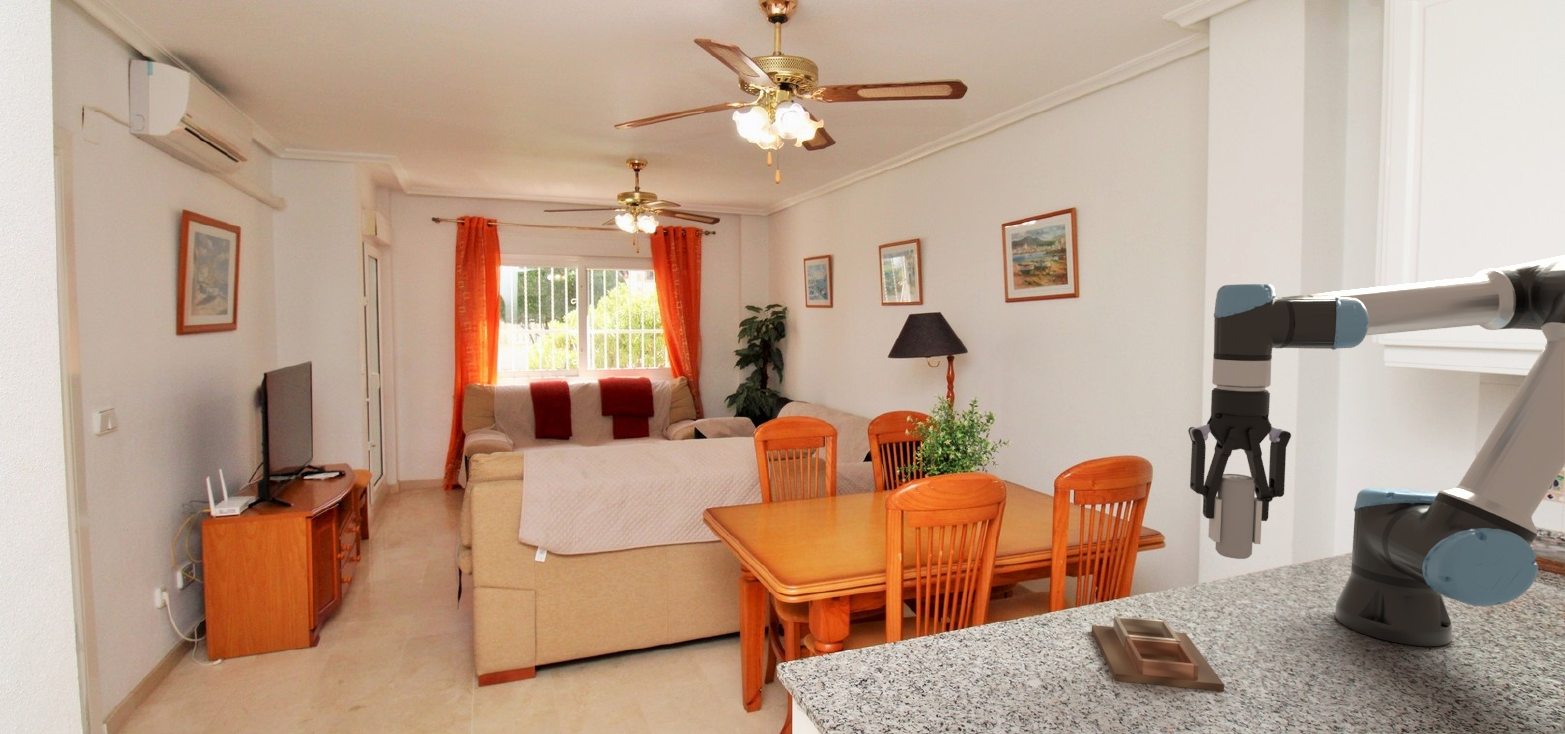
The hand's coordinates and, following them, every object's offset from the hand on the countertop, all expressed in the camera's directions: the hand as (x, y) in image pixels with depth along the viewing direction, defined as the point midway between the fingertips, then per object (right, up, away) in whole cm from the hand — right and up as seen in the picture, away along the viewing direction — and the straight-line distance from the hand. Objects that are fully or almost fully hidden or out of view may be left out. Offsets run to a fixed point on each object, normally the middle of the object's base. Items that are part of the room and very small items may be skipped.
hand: (1234, 539), depth 118 cm
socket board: (-13, -17, -2) cm, 22 cm away
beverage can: (0, -2, 0) cm, 3 cm away
